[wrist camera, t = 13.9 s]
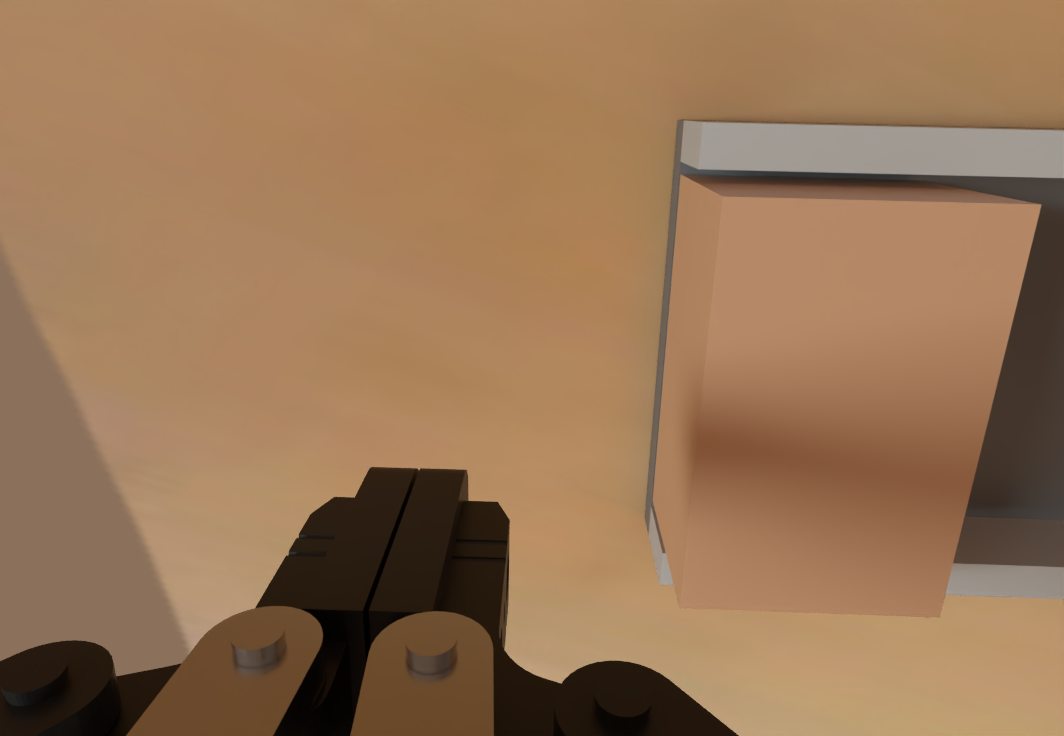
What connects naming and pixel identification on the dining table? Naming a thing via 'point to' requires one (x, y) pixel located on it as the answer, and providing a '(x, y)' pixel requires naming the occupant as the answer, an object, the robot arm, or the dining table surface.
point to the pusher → (829, 387)
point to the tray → (1034, 342)
